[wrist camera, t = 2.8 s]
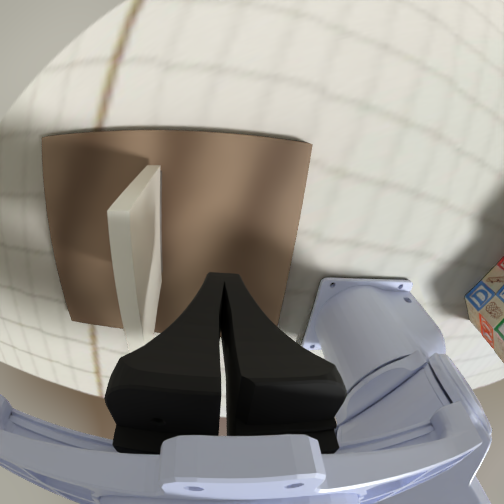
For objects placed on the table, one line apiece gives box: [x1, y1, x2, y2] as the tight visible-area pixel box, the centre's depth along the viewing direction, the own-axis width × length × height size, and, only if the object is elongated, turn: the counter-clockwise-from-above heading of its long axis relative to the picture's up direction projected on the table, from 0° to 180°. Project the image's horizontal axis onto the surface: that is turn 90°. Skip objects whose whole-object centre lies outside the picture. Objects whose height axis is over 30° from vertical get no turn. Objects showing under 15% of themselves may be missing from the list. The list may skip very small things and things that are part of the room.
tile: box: [107, 165, 162, 353], centre depth 14 cm, size 8×8×1 cm
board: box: [42, 130, 312, 337], centre depth 19 cm, size 18×16×2 cm
